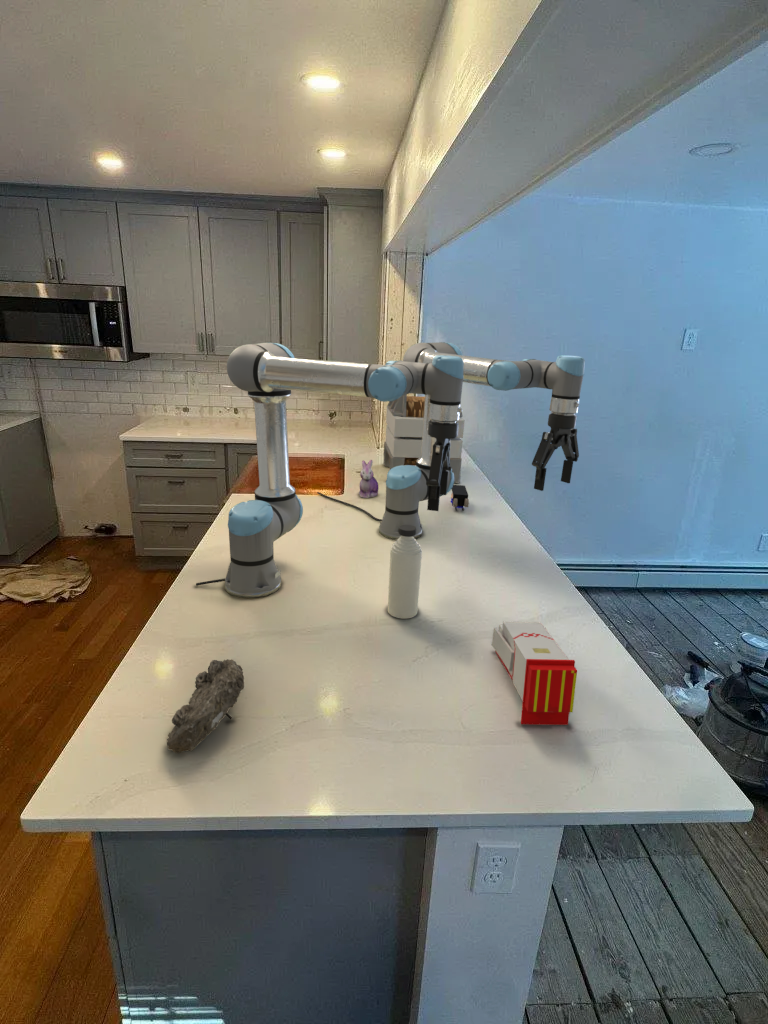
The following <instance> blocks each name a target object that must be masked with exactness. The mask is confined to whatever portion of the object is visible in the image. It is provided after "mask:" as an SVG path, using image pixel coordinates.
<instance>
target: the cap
mask: <svg viewBox="0 0 768 1024" xmlns="http://www.w3.org/2000/svg"><path fill="white" fill-rule="evenodd" d="M398 533H399V534H400V535H401V536H405V537H412V536H415V535H416V527H415V526H413V525H401V526H399V532H398Z"/></svg>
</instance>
